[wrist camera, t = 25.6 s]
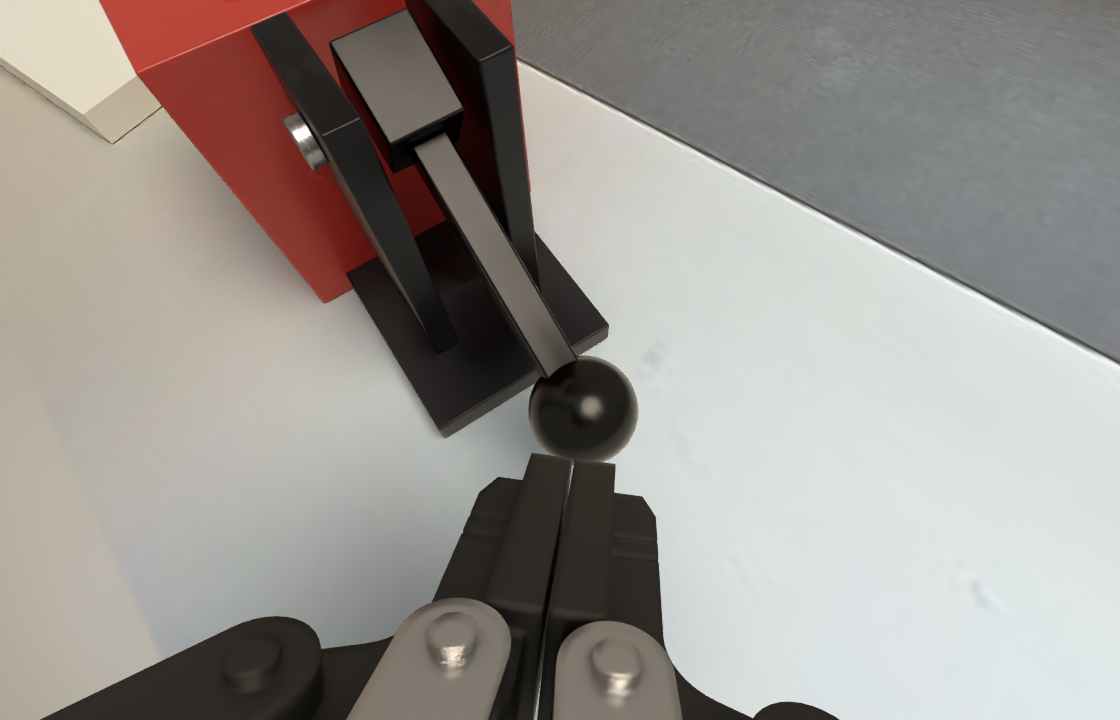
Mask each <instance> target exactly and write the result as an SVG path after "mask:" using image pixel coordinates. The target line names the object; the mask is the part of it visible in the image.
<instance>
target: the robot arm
mask: <svg viewBox="0 0 1120 720" xmlns="http://www.w3.org/2000/svg"><path fill="white" fill-rule="evenodd" d="M571 465H572V458H565V457H557V456H550V455H542V454H535V453H532V454H531V456H530V459H529V462H528V466H527V469H526V472H525V475H524V478H523V480H517V479H510V478H503V477H498V478H496V479H495V480H494V481H493V482H492V483H490V484H489V485H488V486H487V487H485V488H484V489H483V490H482V491H480V492H479V494H478V497H477V499H476V501H475V504H474V506H473V508H472V511H471V514H470V516H469V517H468V520H467V522H466V524H465V527H464V529H463V534H461V536H460V538H459V541H458V543H457V545H456V547H455V550H454V552H453V554H452V557H451V559H450V561H449V564H448V566H447V568H446V571H445V573H444V575H443V578H442V580H441V582H440V584H439V587H438V589H437V591H436V594H435V596H434V598H433V601H432V602H431V603H429V604H427V605H425V606H423V607H421V608H419V609H418V610H416V611H415V612H414V613H412V614H411V615H410V616H409V617H408V618H407V619H406V620H405V621H404V622H403V623H402V625H401V626H400V628H399V629H398V631H397V633H396V634H395V635H394V636H391V637H389V638H386V639H383V640H380V641H377V642H371V643H366V644H358V645H350V646H342V647H334V648H326V649H321V646H320V641H319V638H318V636H317V634H316V632H315V631H314V630H313V629H312V628H311V627H310V626H309V625H307V624H306V623H304V622H302V621H300V620H297V619H294V618H289V617H280V616H273V617H263V618H258V619H253V620H250V621H247V622H243V623H241V624H238V625H236V626H234V627H231V628H229V629H227V630H225V631H223V632H221V633H219V634H217V635H215V636H213V637H211V638H209V639H206V640H204V641H202V642H200V643H198V644H196V645H194V646H192V647H190V648H188V649H186V650H184V651H182V652H179V653H177V654H175V655H173V656H171V657H169V658H167V659H165V660H163V661H161V662H159V663H157V664H155V665H153V666H150V667H148V668H146V669H144V670H142V671H140V672H138V673H136V674H134V675H132V676H130V677H128V678H126V679H123V680H122V681H119V682H117V683H115V684H113V685H111V686H109V687H107V688H105V689H103V690H101V691H99V692H97V693H94V694H92V695H90V696H88V697H86V698H84V699H82V700H80V701H78V702H76V703H74V704H72V705H70V706H67V707H65V708H64V709H61V710H59V711H57V712H55V713H53V714H51V715H49V716H47V717H45V718H43V719H41V720H534V716H535V710H536V704H537V699H538V693H539V687H540V681H541V687H540V698H539V708H538V718H537V720H839V719H838V718H836V717H835V716H833V715H831V714H829V713H827V712H825V711H823V710H821V709H818V708H816V707H813V706H810V705H806V704H803V703H796V702H779V703H775V704H771V705H769V706H767V707H765V708H763V709H762V710H760V711H759V712H758V713H757V714H756V715H755V717H754V718H751V717H749V716H747V715H745V714H743V713H740V712H738V711H736V710H734V709H732V708H730V707H728V706H725V705H723V704H721V703H719V702H717V701H715V700H713V699H711V698H710V697H708V696H706V695H704V694H703V693H701V692H700V691H699V690H697V689H696V688H694V687H693V686H692V685H691V684H690V683H689V682H688V681H686V680H685V678H684V677H683V676H682V675H681V674H680V673H679V672H678V670H677V669H676V668H675V666H674V665H673V663H672V662H671V660H670V658H669V656H668V654H667V651H666V648H665V645H664V638H663V626H662V609H661V593H660V577H659V562H658V545H657V529H656V517H655V515H654V514H653V512H652V510H651V509H650V507H649V506H648V504H647V503H646V501H645V500H644V498H643V497H641V496H634V495H627V494H619V493H614V483H615V464H610V463H603V462H596V461H588V460H581V459H575V462H574V468H573V473H572V479H571V485H570V476H571ZM569 485H570V490H569ZM568 495H569V496H568ZM541 675H542V677H541Z"/></svg>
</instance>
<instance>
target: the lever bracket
mask: <svg viewBox="0 0 1120 720" xmlns="http://www.w3.org/2000/svg"><path fill="white" fill-rule="evenodd" d="M405 4H406V7H407V8H408V9H409V10H410V12H411V14H412V15H413V17H414V19H415V21H416V22H417V24H418V26H419V28H420V29H421V31H422V33H423V35H424V36H425V38H426V40H427V42H428V43H429V45H430V47H431V49H432V51H433V52H434V54H435V56H436V58H437V59H438V61H439V63H440V65H441V66H442V68H443V70H444V72H445V73H446V75H447V77H448V79H449V80H450V82H451V84H452V86H453V87H454V89H455V91H456V93H457V95H458V96H459V98H460V100H461V102H462V103H463V105H464V107H465V110H464V115H463V120H462V126H461V131H460V136H459V141H458V142H457V143H455V146H456V148H457V149H458V151H459V153H460V155H461V156H462V158H463V160H464V162H465V163H466V165H467V167H468V169H469V170H470V172H471V174H472V175H473V177H474V179H475V181H476V182H477V184H478V186H479V188H480V189H481V191H482V193H483V195H484V196H485V198H486V200H487V201H488V203H489V205H490V207H491V208H492V210H493V212H494V214H495V215H496V217H497V219H498V221H499V222H500V224H501V226H502V228H503V229H504V231H505V233H506V234H507V236H508V238H509V240H510V241H511V243H512V245H513V247H514V248H515V250H516V252H517V254H518V255H519V257H520V259H521V260H522V262H523V264H524V266H525V267H526V269H527V271H528V273H529V274H530V276H531V278H532V280H533V281H534V283H535V285H536V286H537V288H538V290H539V292H540V293H541V295H542V297H543V299H544V300H545V302H546V304H547V306H548V307H549V309H550V311H551V313H552V314H553V316H554V318H555V319H556V321H557V323H558V325H559V326H560V328H561V330H562V332H563V333H564V335H565V337H566V339H567V340H568V342H569V344H570V345H571V347H572V349H573V351H574V352H575V354H576V356H579V355H580V354H582V353H583V352H585V351H587V350H588V349H590V348H591V347H593V346H595V345H596V344H598V343H599V342H601V341H603V340H604V339H606V338H607V337H608V329H609V324H608V323H607V322H606V321H605V319H604V318H603V317H602V315H601V314H600V313H599V312H598V310H597V309H596V308H595V307H594V305H593V304H592V303H591V302H590V300H589V299H588V298H587V297H586V295H585V294H584V293H583V292H582V290H581V289H580V288H579V286H578V285H577V284H576V283H575V281H574V280H573V279H572V278H571V276H570V275H569V274H568V273H567V271H566V270H565V269H564V268H563V266H562V265H561V264H560V262H559V261H558V260H557V259H556V257H555V256H554V255H553V254H552V252H551V251H550V250H549V249H548V247H547V246H546V245H545V244H544V242H543V241H542V240H541V239H540V237H539V236H538V235H537V233H536V232H535V231H534V225H533V215H532V206H531V197H530V188H529V179H528V170H527V161H526V152H525V143H524V134H523V125H522V116H521V107H520V98H519V88H518V79H517V70H516V61H515V52H514V46H513V44H512V43H511V42H510V41H509V40H508V39H507V38H506V37H505V36H504V34H503V33H502V32H501V31H500V30H499V29H498V28H497V27H496V26H495V25H494V24H493V23H492V22H491V20H490V19H489V18H488V17H487V16H486V15H485V14H484V13H483V12H482V11H481V10H480V9H479V8H478V6H477V5H476V4H475V3H474V2H473V1H472V0H405ZM250 30H251V32H252V34H253V36H254V37H255V39H256V41H257V43H258V45H259V46H260V48H261V50H262V52H263V54H264V55H265V57H266V59H267V61H268V62H269V64H270V66H271V68H272V70H273V71H274V73H275V75H276V77H277V78H278V80H279V82H280V84H281V86H282V87H283V89H284V91H285V93H286V94H287V96H288V98H289V100H290V102H291V103H292V105H293V107H294V109H295V111H296V112H293V113H291V114H289V115H287V116H285V117H283V118H282V122H283V124H284V125H285V127H286V129H287V130H288V132H289V134H290V135H291V137H292V139H293V140H294V142H295V144H296V145H297V147H298V149H299V150H300V152H301V153H302V155H303V157H304V158H305V160H306V161H307V163H308V165H309V166H310V168H311V169H312V170H316V169H318V168H320V167H323V166H325V165H326V166H327V168H328V169H329V171H330V173H331V175H332V176H333V178H334V180H335V182H336V184H337V185H338V187H339V189H340V191H341V192H342V194H343V196H344V198H345V200H346V201H347V203H348V205H349V207H350V208H351V210H352V212H353V214H354V216H355V217H356V219H357V221H358V223H359V225H360V226H361V228H362V230H363V232H364V233H365V235H366V237H367V239H368V241H369V242H370V244H371V246H372V248H373V249H374V251H375V253H376V255H377V257H375V258H373V259H371V260H370V261H368V262H366V263H364V264H362V265H360V266H358V267H356V268H355V269H353V270H351V271H349V272H347V273H346V276H347V278H348V279H349V281H350V283H351V284H352V286H353V288H354V289H355V291H356V293H357V294H358V296H359V298H360V299H361V301H362V303H363V304H364V306H365V308H366V309H367V311H368V313H369V314H370V316H371V318H372V319H373V321H374V323H375V324H376V326H377V328H378V329H379V331H380V333H381V334H382V336H383V338H384V339H385V341H386V343H387V344H388V346H389V348H390V349H391V351H392V353H393V354H394V356H395V358H396V359H397V361H398V363H399V364H400V366H401V368H402V369H403V371H404V373H405V374H406V376H407V378H408V379H409V381H410V383H411V384H412V386H413V388H414V389H415V391H416V393H417V394H418V396H419V398H420V399H421V401H422V403H423V404H424V406H425V408H426V409H427V411H428V413H429V414H430V416H431V418H432V419H433V421H434V423H435V424H436V426H437V428H438V429H439V431H440V432H441V433H442V434H443V436H444V437H445V438H447V437H448V436H450V435H452V434H453V433H455V432H456V431H458V430H460V429H461V428H463V427H464V426H466V425H468V424H469V423H471V422H472V421H474V420H476V419H477V418H479V417H481V416H482V415H484V414H485V413H487V412H489V411H490V410H492V409H493V408H495V407H497V406H498V405H500V404H501V403H503V402H505V401H506V400H508V399H509V398H511V397H513V396H514V395H516V394H517V393H519V392H521V391H522V390H524V389H525V388H527V387H529V386H530V385H532V384H534V383H535V382H537V380H538V379H539V378H540V377H539V376H538V374H537V372H536V370H535V369H534V367H533V365H532V364H531V362H530V360H529V359H528V357H527V355H526V354H525V352H524V350H523V348H522V347H521V345H520V343H519V342H518V340H517V338H516V337H515V335H514V333H513V331H512V330H511V328H510V326H509V325H508V323H507V321H506V320H505V318H504V316H503V315H502V313H501V311H500V309H499V308H498V306H497V304H496V303H495V301H494V299H493V298H492V296H491V294H490V292H489V291H488V289H487V287H486V286H485V284H484V282H483V281H482V279H481V277H480V276H479V274H478V272H477V270H476V269H475V267H474V265H473V264H472V262H471V260H470V259H469V257H468V255H467V254H466V252H465V250H464V248H463V247H462V245H461V243H460V242H459V240H458V238H457V237H456V235H455V233H454V231H453V230H452V228H451V226H450V225H449V223H448V221H447V220H444V221H443V222H441V223H439V224H437V225H435V226H433V227H431V228H429V229H428V230H426V231H424V232H422V233H420V234H418V235H416V236H414V237H413V234H412V232H411V230H410V227H409V225H408V223H407V220H406V218H405V216H404V214H403V211H402V209H401V207H400V204H399V202H398V200H397V197H396V195H395V193H394V191H393V188H392V186H391V184H390V181H389V179H388V177H387V174H386V172H385V170H384V168H383V165H382V163H381V161H380V158H379V156H378V154H377V151H376V149H375V147H374V145H373V142H372V140H371V138H370V135H369V133H368V131H367V128H366V126H365V124H364V122H363V119H362V117H361V116H360V115H359V113H358V112H357V110H356V109H355V108H354V106H353V105H352V103H351V102H350V100H349V99H348V98H347V96H346V95H345V93H344V92H343V91H342V89H341V88H340V86H339V85H338V84H337V82H336V81H335V79H334V78H333V77H332V75H331V74H330V72H329V71H328V70H327V68H326V67H325V65H324V64H323V62H322V61H321V60H320V58H319V57H318V55H317V54H316V53H315V51H314V50H313V48H312V47H311V46H310V44H309V43H308V41H307V40H306V39H305V37H304V36H303V34H302V33H301V31H300V30H299V29H298V27H297V26H296V24H295V23H294V22H293V20H292V19H291V17H290V16H289V15H288V14H287V13H286V12H283V13H280V14H278V15H275V16H273V17H271V18H268V19H266V20H264V21H261V22H259V23H256V24H254V25H252V26H250Z"/></svg>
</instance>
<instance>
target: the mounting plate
mask: <svg viewBox="0 0 1120 720" xmlns="http://www.w3.org/2000/svg"><path fill="white" fill-rule="evenodd" d="M0 66H2V67H3V68H5V69H6V70H7V71H9V72H10V73H12V74H13V75H15V76H16V77H17V78H19V79H20V80H22V81H23V82H25V83H26V84H27V85H29V86H30V87H32V88H33V89H35V90H36V91H37V92H39V93H40V94H42V95H43V96H45V97H46V98H47V99H49V100H50V101H52V102H53V103H55V104H56V105H57V106H59V107H60V108H62V109H63V110H65V111H66V112H67V113H69V114H70V115H72V116H73V117H75V118H76V119H77V120H79V121H80V122H82V123H83V124H85V125H86V126H87V127H89V128H90V129H92V130H93V131H95V132H96V133H97V134H99V135H100V136H102V137H103V138H105V139H106V140H107V141H109V142H110V143H112V144H113V143H114V142H115V141H117V140H118V139H119V138H121V137H122V136H123V135H125V134H126V133H127V132H128V131H130V130H131V129H132V128H134V127H135V126H136V125H138V124H139V123H140V122H142V121H143V120H144V119H146V118H147V117H148V116H149V115H151V114H152V113H153V112H155V111H156V110H157V109H159V108H160V107H161V106H162V105H161V104H160V103H159V102H158V100H157V99H156V98H155V97H154V96H153V94H152V93H151V92H150V91H149V90H148V88H147V87H146V86H145V85H144V83H143V82H142V81H141V80H140V79H139V77H138V76H137V75H136V73H135V71H134V69H133V67H132V65H131V63H130V61H129V59H128V57H127V56H126V54H125V52H124V50H123V48H122V46H121V44H120V42H119V40H118V38H117V36H116V34H115V32H114V30H113V28H112V26H111V24H110V22H109V20H108V18H107V16H106V14H105V12H104V10H103V8H102V6H101V4H100V2H99V0H0Z"/></svg>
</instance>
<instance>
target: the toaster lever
mask: <svg viewBox="0 0 1120 720" xmlns="http://www.w3.org/2000/svg"><path fill="white" fill-rule="evenodd" d="M329 46H330V50H331V53H332V57H333V60H334V64H335V67H336V71H337V74H338V78H339V81H340V85H341V88H342V89H343V91H344V93H345V94H346V96H347V98H348V99H349V100H350V102H351V103H352V105H353V106H354V108H355V109H356V110H357V112H358V113H359V115H360V116H361V117H362V119H363V122H364V124H365V126H366V128H367V131H368V133H369V135H370V136H371V138H372V140H373V141H374V143H375V145H376V146H377V148H378V150H379V151H380V153H381V155H382V156H383V158H384V160H385V161H386V163H387V165H388V166H389V168H390V170H391V171H392V173H397V172H399V171H401V170H403V169H405V168H407V167H409V166H411V165H413V164H414V165H415V167H416V169H417V170H418V172H419V174H420V176H421V177H422V179H423V181H424V182H425V184H426V186H427V187H428V189H429V191H430V192H431V194H432V196H433V198H434V199H435V201H436V203H437V204H438V206H439V208H440V209H441V211H442V213H443V215H444V216H445V218H446V220H447V221H448V223H449V225H450V226H451V228H452V230H453V231H454V233H455V235H456V237H457V238H458V240H459V242H460V243H461V245H462V247H463V248H464V250H465V252H466V254H467V255H468V257H469V259H470V260H471V262H472V264H473V265H474V267H475V269H476V270H477V272H478V274H479V276H480V277H481V279H482V281H483V282H484V284H485V286H486V287H487V289H488V291H489V292H490V294H491V296H492V298H493V299H494V301H495V303H496V304H497V306H498V308H499V309H500V311H501V313H502V315H503V316H504V318H505V320H506V321H507V323H508V325H509V326H510V328H511V330H512V331H513V333H514V335H515V337H516V338H517V340H518V342H519V343H520V345H521V347H522V348H523V350H524V352H525V354H526V355H527V357H528V359H529V360H530V362H531V364H532V365H533V367H534V369H535V370H536V372H537V374H538V376H539V377H540V378H539V379H538V380H537V382H536V384H535V386H534V388H533V390H532V393H531V396H530V400H529V410H528V413H529V421H530V426H531V429H532V431H533V434H534V436H535V438H536V439H537V441H538V442H539V444H540V445H541V446H542V447H543V448H544V449H545V451H546V452H548V453H549V454H550V455H551V456H557V457H565V458H572V465H574V462H575V459H581V460H588V461H596V462H605V461H607V460H609V459H611V458H612V457H614V456H615V455H617V454H618V453H619V452H620V451H621V450H622V449H623V448H624V447H625V446H626V445H627V444H628V442H629V441H630V439H631V437H632V435H633V433H634V431H635V428H636V425H637V420H638V402H637V397H636V394H635V391H634V389H633V387H632V385H631V383H630V381H629V380H628V378H627V377H626V376H625V375H624V373H623V372H622V371H620V370H619V369H618V368H617V367H616V366H614V365H613V364H611V363H610V362H608V361H606V360H603V359H600V358H597V357H592V356H576V354H575V352H574V351H573V349H572V347H571V345H570V344H569V342H568V340H567V339H566V337H565V335H564V333H563V332H562V330H561V328H560V326H559V325H558V323H557V321H556V319H555V318H554V316H553V314H552V313H551V311H550V309H549V307H548V306H547V304H546V302H545V300H544V299H543V297H542V295H541V293H540V292H539V290H538V288H537V286H536V285H535V283H534V281H533V280H532V278H531V276H530V274H529V273H528V271H527V269H526V267H525V266H524V264H523V262H522V260H521V259H520V257H519V255H518V254H517V252H516V250H515V248H514V247H513V245H512V243H511V241H510V240H509V238H508V236H507V234H506V233H505V231H504V229H503V228H502V226H501V224H500V222H499V221H498V219H497V217H496V215H495V214H494V212H493V210H492V208H491V207H490V205H489V203H488V201H487V200H486V198H485V196H484V195H483V193H482V191H481V189H480V188H479V186H478V184H477V182H476V181H475V179H474V177H473V175H472V174H471V172H470V170H469V169H468V167H467V165H466V163H465V162H464V160H463V158H462V156H461V155H460V153H459V151H458V149H457V148H456V146H455V143H457V142H458V141H459V136H460V131H461V126H462V120H463V115H464V110H465V107H464V105H463V103H462V102H461V100H460V98H459V96H458V95H457V93H456V91H455V89H454V87H453V86H452V84H451V82H450V80H449V79H448V77H447V75H446V73H445V72H444V70H443V68H442V66H441V65H440V63H439V61H438V59H437V58H436V56H435V54H434V52H433V51H432V49H431V47H430V45H429V43H428V42H427V40H426V38H425V36H424V35H423V33H422V31H421V29H420V28H419V26H418V24H417V22H416V21H415V19H414V17H413V15H412V14H411V12H410V10H409V9H408V8H404V9H402V10H400V11H397V12H395V13H393V14H391V15H388V16H386V17H384V18H382V19H379V20H377V21H375V22H372V23H370V24H368V25H366V26H363V27H361V28H359V29H357V30H354V31H352V32H350V33H347V34H345V35H343V36H341V37H338V38H336V39H334V40H332V41H330V42H329Z"/></svg>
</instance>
